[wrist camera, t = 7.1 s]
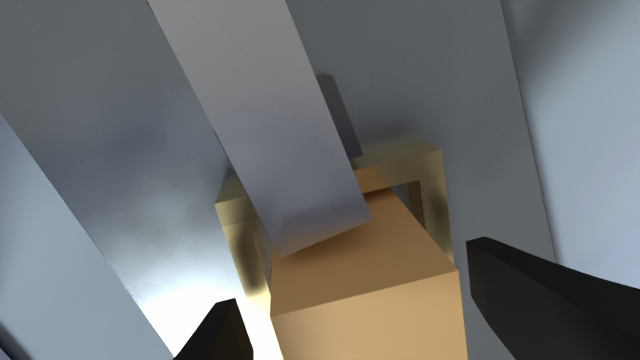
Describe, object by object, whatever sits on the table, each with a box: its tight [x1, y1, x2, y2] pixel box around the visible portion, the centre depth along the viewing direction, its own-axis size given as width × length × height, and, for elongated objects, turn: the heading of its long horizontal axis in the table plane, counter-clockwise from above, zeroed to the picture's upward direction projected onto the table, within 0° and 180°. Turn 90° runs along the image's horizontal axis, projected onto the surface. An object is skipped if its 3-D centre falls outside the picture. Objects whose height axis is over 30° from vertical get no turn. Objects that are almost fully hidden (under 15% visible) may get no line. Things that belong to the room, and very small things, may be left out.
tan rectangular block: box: [270, 187, 468, 360], centre depth 11 cm, size 4×4×6 cm
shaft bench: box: [0, 0, 556, 360], centre depth 12 cm, size 15×26×5 cm, turn 22°
